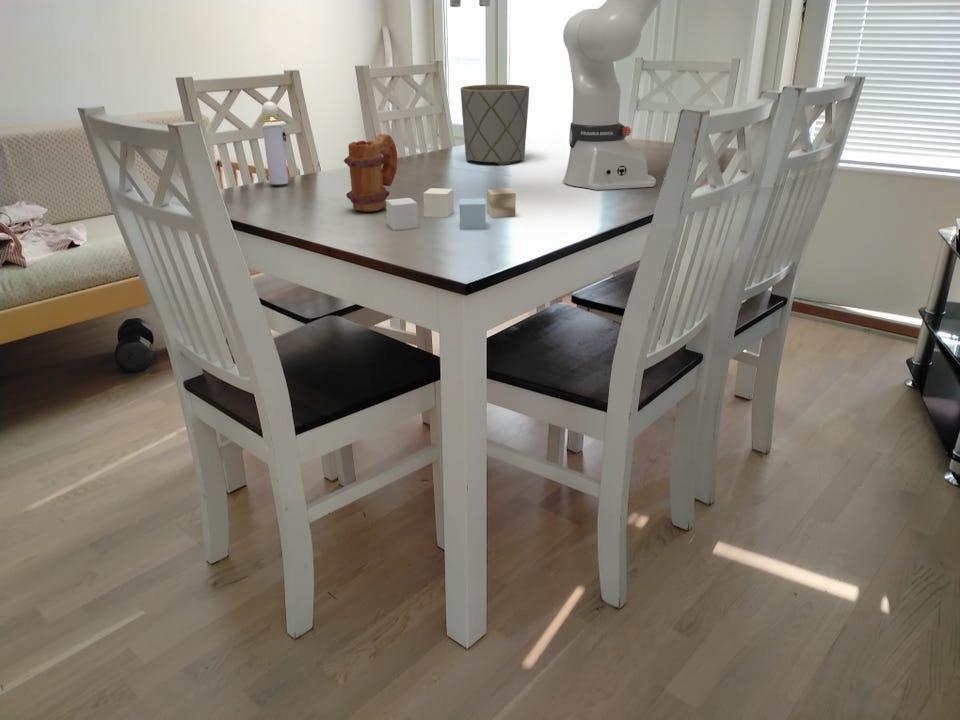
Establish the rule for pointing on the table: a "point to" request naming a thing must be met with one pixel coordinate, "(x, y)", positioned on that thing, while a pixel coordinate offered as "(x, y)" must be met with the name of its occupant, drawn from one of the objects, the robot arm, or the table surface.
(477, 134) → the planter
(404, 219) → the grey cube
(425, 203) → the cream cube
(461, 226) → the pale blue cube
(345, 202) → the table surface
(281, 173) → the perfume bottle
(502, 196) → the birch cube
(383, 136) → the mug
